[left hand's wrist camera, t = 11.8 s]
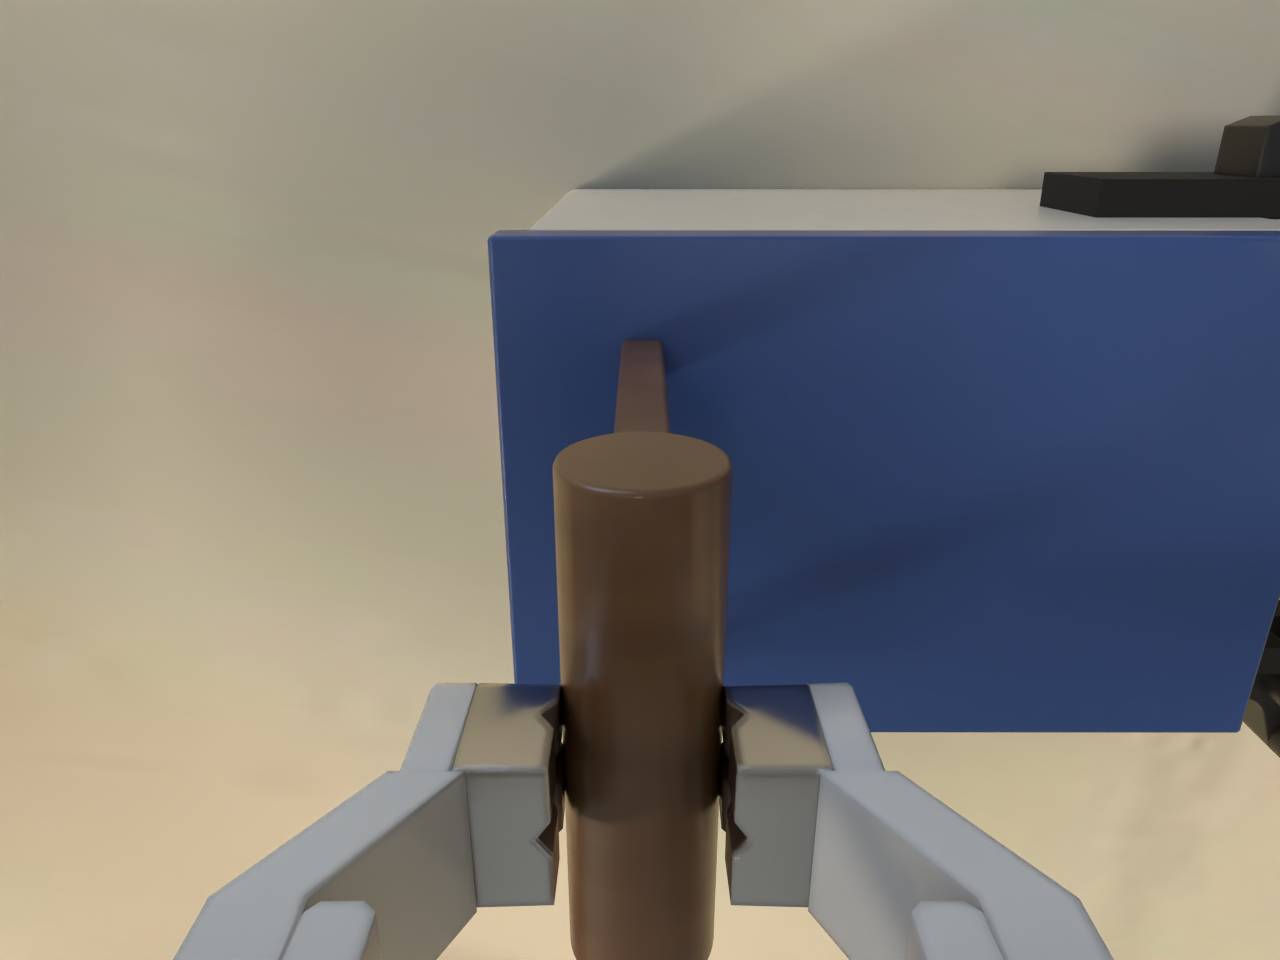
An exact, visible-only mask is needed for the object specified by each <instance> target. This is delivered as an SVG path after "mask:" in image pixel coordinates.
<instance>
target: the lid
mask: <svg viewBox="0 0 1280 960" xmlns="http://www.w3.org/2000/svg"><path fill="white" fill-rule="evenodd" d="M488 254H489V270H490V287H491V303H492V320H493V336H494V353H495V369H496V385H497V402H498V418H499V435H500V451H501V468H502V484H503V500H504V517H505V533H506V550H507V566H508V583H509V599H510V615H511V632H512V648H513V665H514V681H515V684H544V685H562V712H563V730H562V732H563V751H564V762H565V806H566V832H567V858H568V884H569V910H570V936H571V945H572V949H573V952H574V955H575V957H576V959H577V960H707V959H708V957H709V955H710V952H711V949H712V945H713V935H714V910H715V886H716V862H717V837H718V813H719V774H720V754H721V740H722V727H721V722H722V699H723V686H752V685H806V684H815V683H844V682H847V683H849V684H850V685H851V686H852V687H853V689H854V692H855V694H856V697H857V699H858V702H859V704H860V707H861V710H862V712H863V715H864V717H865V720H866V723H867V725H868V728H869V730H870V732H1238V731H1239V730H1240V728H1241V724H1242V721H1243V718H1244V714H1245V711H1246V708H1247V704H1248V701H1249V698H1250V694H1251V691H1252V688H1253V684H1254V681H1255V678H1256V674H1257V671H1258V668H1259V664H1260V661H1261V658H1262V654H1263V651H1264V648H1265V644H1266V641H1267V637H1268V634H1269V631H1270V627H1271V624H1272V621H1273V617H1274V614H1275V611H1276V607H1277V604H1278V601H1279V597H1280V231H1249V230H499V231H497V232H496V233H494V234H493V235H491V236H490V237H489V239H488Z"/></svg>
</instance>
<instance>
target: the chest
mask: <svg viewBox="0 0 1280 960" xmlns="http://www.w3.org/2000/svg"><path fill="white" fill-rule="evenodd" d="M1041 193H1042V189H573V190H571V191H569V192H568V193H567V194H566V195H565V196H564V197H563V198H562V199H561V200H560V201H559V202H558V203H556V204H555V205H554V206H553V207H552V208H551V209H550V210H549V211H548V212H547V213H546V214H545V215H544V216H543V217H541V218H540V219H539V220H538V221H537V222H536V223H535V224H534V225H533V226H532V227H531V228H530V229H529V230H1249V231H1280V220H1273V219H1267V218H1095V217H1091V216H1086V215H1081V214H1076V213H1071V212H1066V211H1061V210H1056V209H1051V208H1047V207H1042V206H1039V205H1040V199H1041Z"/></svg>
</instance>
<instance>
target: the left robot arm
mask: <svg viewBox="0 0 1280 960" xmlns="http://www.w3.org/2000/svg"><path fill="white" fill-rule="evenodd" d="M721 727H722V735H723V743H722V744H721V754H720V774H719V806H720V817H721V827H722V829H723V830H724V831H725V832H726V848H725V861H726V869H727V877H728V885H729V892H730V900H731V905H748V906H783V907H808V911H809V912H810V914H811V915H812V916H813V917H814V918H815V920H816V921H817V922H818V923H819V924H820V925H821V927H822V928H823V929H824V930H825V931H826V932H827V934H828V935H829V936H830V937H831V938H832V940H833V941H834V942H835V943H836V944H837V945H838V947H839V948H840V949H841V950H842V951H843V953H844V954H845V955H846V956H847V957H848V958H849V960H1114V959H1113V957H1112V956H1111V954H1110V952H1109V950H1108V949H1107V947H1106V945H1105V943H1104V942H1103V940H1102V938H1101V936H1100V935H1099V933H1098V931H1097V929H1096V927H1095V926H1094V924H1093V922H1092V920H1091V919H1090V917H1089V915H1088V913H1087V912H1086V910H1085V908H1084V906H1083V905H1082V903H1081V901H1080V899H1079V898H1078V897H1076V896H1075V895H1073V894H1072V893H1070V892H1069V891H1068V890H1066V889H1065V888H1063V887H1062V886H1061V885H1059V884H1058V883H1056V882H1055V881H1053V880H1052V879H1051V878H1049V877H1048V876H1046V875H1045V874H1043V873H1042V872H1041V871H1039V870H1038V869H1036V868H1035V867H1033V866H1032V865H1031V864H1029V863H1028V862H1026V861H1025V860H1024V859H1022V858H1021V857H1019V856H1018V855H1016V854H1015V853H1014V852H1012V851H1011V850H1009V849H1008V848H1006V847H1005V846H1004V845H1002V844H1001V843H999V842H998V841H996V840H995V839H994V838H992V837H991V836H989V835H988V834H987V833H985V832H984V831H982V830H981V829H979V828H978V827H977V826H975V825H974V824H972V823H971V822H969V821H968V820H967V819H965V818H964V817H962V816H961V815H959V814H958V813H957V812H955V811H954V810H952V809H951V808H950V807H948V806H947V805H945V804H944V803H942V802H941V801H940V800H938V799H937V798H935V797H934V796H932V795H931V794H930V793H928V792H927V791H925V790H924V789H922V788H921V787H920V786H918V785H917V784H915V783H914V782H913V781H911V780H910V779H908V778H907V777H905V776H904V775H903V774H901V773H900V772H898V771H885V769H884V766H883V764H882V761H881V759H880V756H879V753H878V751H877V748H876V746H875V743H874V741H873V738H872V735H871V733H870V730H869V728H868V725H867V723H866V720H865V717H864V715H863V712H862V710H861V707H860V704H859V702H858V699H857V697H856V694H855V692H854V689H853V687H852V686H851V685H850V684H849V683H847V682H844V683H815V684H806V685H752V686H723V699H722V722H721ZM562 730H563V712H562V685H544V684H496V683H479V684H476V683H437V684H436V685H435V686H433V687H432V688H431V690H430V692H429V695H428V698H427V700H426V703H425V706H424V708H423V711H422V714H421V716H420V719H419V721H418V724H417V727H416V729H415V732H414V735H413V737H412V740H411V743H410V745H409V748H408V751H407V753H406V756H405V759H404V761H403V764H402V767H401V769H400V771H387V772H386V773H384V774H383V775H381V776H380V777H379V778H377V779H376V780H374V781H373V782H371V783H370V784H369V785H367V786H366V787H364V788H363V789H362V790H360V791H359V792H357V793H356V794H354V795H353V796H352V797H350V798H349V799H347V800H346V801H344V802H343V803H342V804H340V805H339V806H337V807H336V808H335V809H333V810H332V811H330V812H329V813H327V814H326V815H325V816H323V817H322V818H320V819H319V820H317V821H316V822H315V823H313V824H312V825H310V826H309V827H308V828H306V829H305V830H303V831H302V832H300V833H299V834H298V835H296V836H295V837H293V838H292V839H291V840H289V841H288V842H286V843H285V844H283V845H282V846H281V847H279V848H278V849H276V850H275V851H273V852H272V853H271V854H269V855H268V856H266V857H265V858H264V859H262V860H261V861H259V862H258V863H256V864H255V865H254V866H252V867H251V868H249V869H248V870H247V871H245V872H244V873H242V874H241V875H239V876H238V877H237V878H235V879H234V880H232V881H231V882H229V883H228V884H227V885H225V886H224V887H222V888H221V889H220V890H218V891H217V892H215V893H214V894H212V895H211V896H210V897H208V899H207V901H206V903H205V905H204V906H203V908H202V910H201V912H200V913H199V915H198V917H197V919H196V920H195V922H194V924H193V926H192V928H191V929H190V931H189V933H188V935H187V936H186V938H185V940H184V942H183V943H182V945H181V947H180V949H179V951H178V952H177V954H176V956H175V958H174V959H173V960H436V959H437V958H438V957H439V956H440V955H441V953H442V952H443V951H444V950H445V949H446V947H447V946H448V945H449V944H450V943H451V942H452V940H453V939H454V938H455V937H456V936H457V934H458V933H459V932H460V931H461V930H462V928H463V927H464V926H465V925H466V924H467V923H468V921H469V920H470V919H471V918H472V917H473V915H474V914H475V913H476V912H477V910H476V907H501V906H535V905H554V900H555V892H556V883H557V875H558V866H559V831H561V830H562V829H563V820H564V810H565V762H564V751H563V744H562V742H561V739H562Z"/></svg>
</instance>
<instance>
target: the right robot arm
mask: <svg viewBox="0 0 1280 960" xmlns="http://www.w3.org/2000/svg"><path fill="white" fill-rule="evenodd" d="M1039 206H1042V207H1047V208H1051V209H1056V210H1061V211H1066V212H1071V213H1076V214H1081V215H1086V216H1091V217H1095V218H1267V219H1280V116H1250V117H1247V118H1245V119H1242V120H1240V121H1237V122H1234V123H1232V124H1229V125H1227V126H1225V127H1224V132H1223V136H1222V140H1221V145H1220V149H1219V154H1218V158H1217V163H1216V167H1215V172H1045V174H1044V180H1043V187H1042V193H1041V199H1040V205H1039ZM1243 722H1244V723H1245V724H1246V725H1247V726H1248V727H1249V728H1250V729H1251V730H1252V731H1253V732H1254V733H1255V734H1256V735H1257V736H1258V737H1259V738H1260V739H1261V740H1262V741H1263V742H1264V743H1265V744H1266V745H1267V746H1268V747H1269V748H1270V749H1271V750H1272V751H1273V752H1275V753H1276V754H1277V755H1278V756H1279V757H1280V600H1279V601H1278V604H1277V607H1276V611H1275V614H1274V617H1273V621H1272V624H1271V627H1270V631H1269V634H1268V637H1267V641H1266V644H1265V648H1264V651H1263V654H1262V658H1261V661H1260V664H1259V668H1258V671H1257V674H1256V678H1255V681H1254V684H1253V688H1252V691H1251V694H1250V698H1249V701H1248V704H1247V708H1246V711H1245V714H1244V718H1243Z"/></svg>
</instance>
